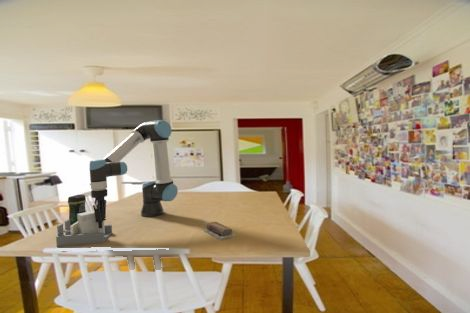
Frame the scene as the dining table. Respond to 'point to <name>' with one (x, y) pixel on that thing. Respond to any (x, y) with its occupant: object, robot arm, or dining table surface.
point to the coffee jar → (76, 207)
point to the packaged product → (219, 231)
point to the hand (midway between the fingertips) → (101, 233)
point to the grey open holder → (73, 229)
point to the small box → (87, 223)
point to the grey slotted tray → (80, 236)
